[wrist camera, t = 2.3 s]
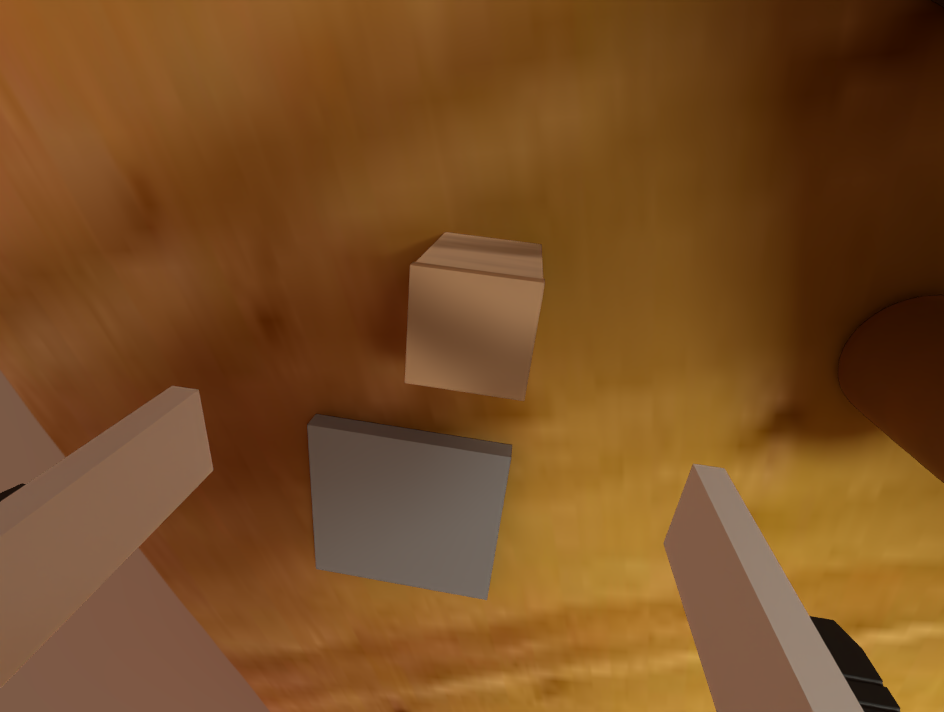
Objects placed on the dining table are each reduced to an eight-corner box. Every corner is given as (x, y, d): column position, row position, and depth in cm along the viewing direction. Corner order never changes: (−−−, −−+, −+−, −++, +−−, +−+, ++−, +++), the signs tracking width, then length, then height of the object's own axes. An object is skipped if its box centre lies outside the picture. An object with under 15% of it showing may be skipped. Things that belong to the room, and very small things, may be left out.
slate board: (316, 413, 33) (307, 424, 32) (512, 445, 32) (511, 457, 31) (323, 554, 39) (316, 568, 38) (488, 584, 38) (486, 599, 37)
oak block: (444, 231, 27) (409, 265, 19) (542, 243, 26) (544, 283, 19) (437, 322, 29) (404, 383, 22) (527, 334, 29) (524, 401, 21)
